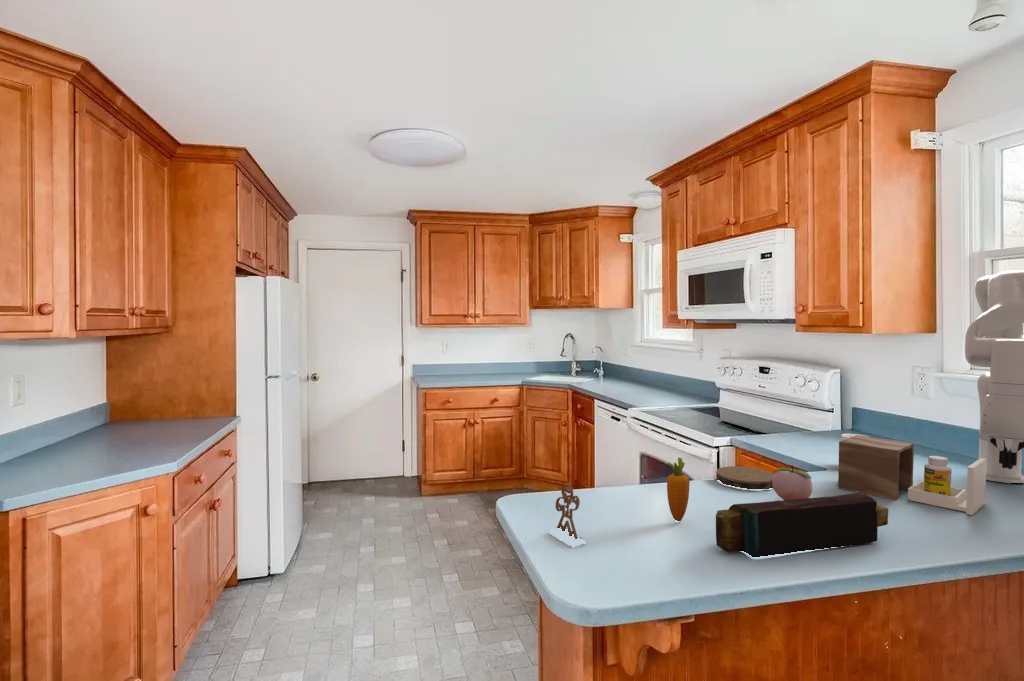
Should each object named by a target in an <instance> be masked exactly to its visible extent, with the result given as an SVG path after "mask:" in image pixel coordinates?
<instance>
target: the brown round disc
mask: <svg viewBox="0 0 1024 681" xmlns="http://www.w3.org/2000/svg"><path fill="white" fill-rule="evenodd" d="M774 475H775V473H774V472H771V471H768V470H765V469H761V468H756V467H751V466H742V465H741V466H740V465H739V466H734V465H732V466H730V465H729V466H723V467H719V468H717V469H716V475H715V476H716V477H715V478H716V480H720V481H721V482H722V483H723V484H726V485H731V486H735V487H740V488H747V489H769V488H773V486H772V481H773V478H774Z"/></svg>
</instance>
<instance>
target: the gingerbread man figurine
mask: <svg viewBox="0 0 1024 681" xmlns="http://www.w3.org/2000/svg"><path fill="white" fill-rule="evenodd" d="M566 486H567V487H568V488H567V487H566ZM565 487H566V488H565ZM568 494H569V495H568ZM561 499H562V500H563V504H561V503H560V501H561ZM580 502H581V501H580V497H579V495H574V489H573V486H572V484H570V483H566V482H565V483H562V484H561V496H559V497H558V498H557V499H556V500H555V510H556V511H557V512H559V513H560V512H561V517H560V519H559V521H558V524H557V526H556V528H560V527H561V529H562V531H565V529H568V532H569V536H572V534H574V537H575V539H577V538H578V537H577V535H578V534H577V530H576V527H575V524H574V521H573V512H575V511H577V510H578V509H579V507H580ZM572 503H573V504H574V505H575V507H574V508H570V505H571V504H572ZM565 504H566V505H565ZM564 518H567V519H566V520H565V522H564V525H563V521H564Z"/></svg>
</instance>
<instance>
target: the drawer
mask: <svg viewBox="0 0 1024 681" xmlns="http://www.w3.org/2000/svg"><path fill="white" fill-rule="evenodd" d="M966 475H967V478H966V489H963V488H960V487H959V488H958V487H953V486H951V494H950V496H947V495H942V494H937V493H932V492H927V491H924V481H920V480H919V481H918V482H916V483H915V484H914V483H913V486H911V487H909V488H908V490H907V500H908V501H912V502H918V503H922V504H926V505H931V506H936V507H939V508H940V507H941V508H945V509H950V510H954V511H955V510H956V511H960V512H963V513H964V512H965V514H966V515H970V516H973V515H975V513H976V512H977V511H979V510H980V509H981V508H982V507H983V506H984V505H985V504H986V488H987V487H986V486H987V480H986V459H984V458H980V459H979V458H978V459H977V460H976V461H974V462H972V463H971V464H970V465H969V466H967V471H966Z"/></svg>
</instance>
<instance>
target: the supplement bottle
mask: <svg viewBox="0 0 1024 681" xmlns="http://www.w3.org/2000/svg"><path fill="white" fill-rule="evenodd" d="M927 461H928V462H926V463H924V465H923V466H924V467H923V468H924V469H923V470H924V471H923V482H924V491H927V492H932V493H937V494H942V495H947V496H950V494H951V487H952V467H951V466H950V465H949V459H948V457H944V456H939V455H929V456H928V460H927Z"/></svg>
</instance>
